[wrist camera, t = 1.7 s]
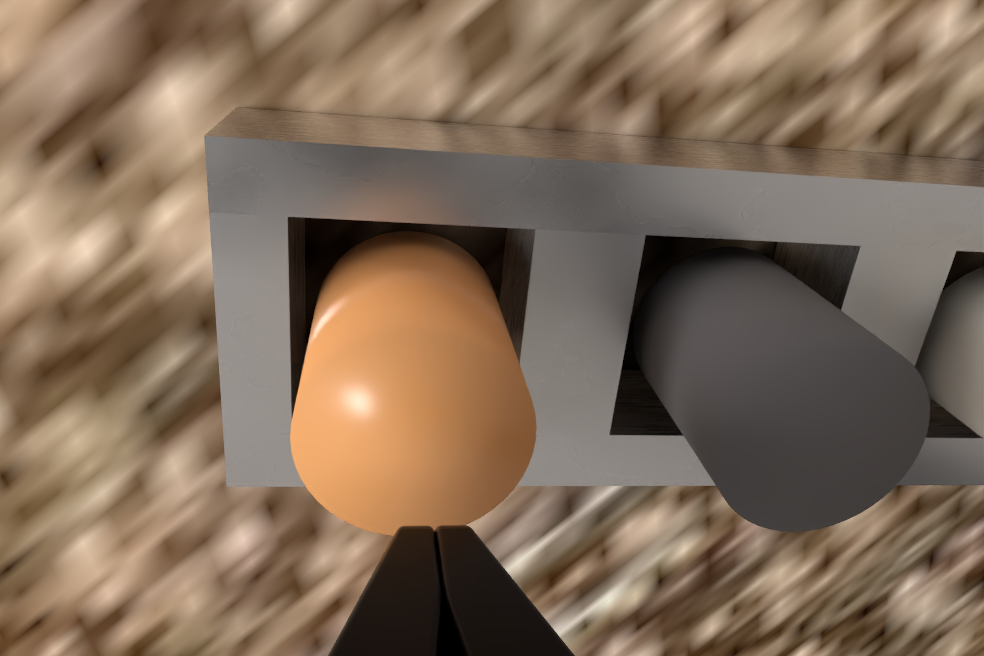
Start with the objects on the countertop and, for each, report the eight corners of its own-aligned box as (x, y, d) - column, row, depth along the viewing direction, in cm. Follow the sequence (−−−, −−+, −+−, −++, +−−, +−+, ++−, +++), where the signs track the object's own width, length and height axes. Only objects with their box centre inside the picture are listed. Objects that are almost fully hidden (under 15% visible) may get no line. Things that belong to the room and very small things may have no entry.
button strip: (1102, 169, 18) (1226, 202, 15) (995, 419, 21) (1085, 484, 18) (237, 107, 15) (203, 135, 12) (250, 410, 18) (227, 486, 15)
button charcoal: (815, 251, 16) (961, 344, 12) (773, 402, 17) (889, 530, 13) (649, 242, 15) (743, 337, 11) (620, 400, 17) (693, 532, 13)
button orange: (505, 235, 15) (550, 332, 11) (488, 397, 16) (522, 535, 12) (315, 225, 14) (287, 324, 10) (316, 395, 16) (292, 538, 12)
